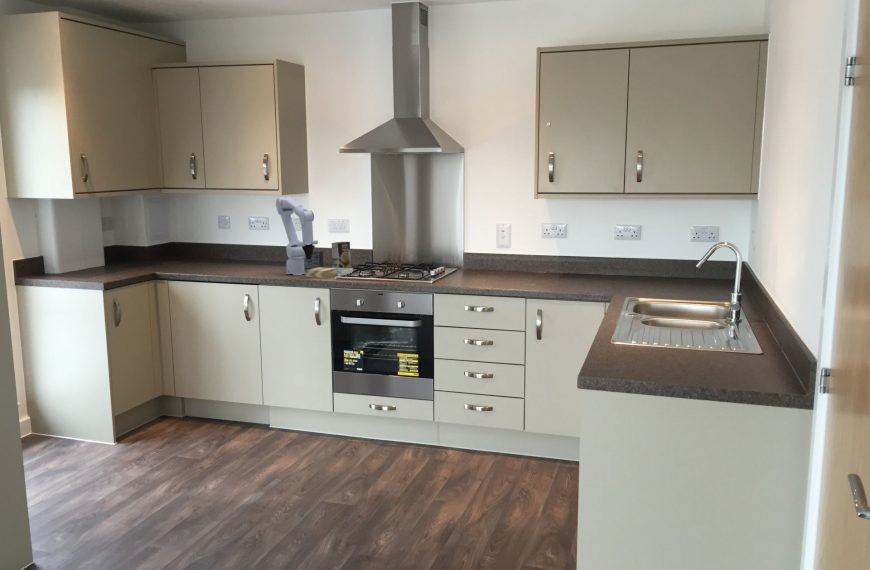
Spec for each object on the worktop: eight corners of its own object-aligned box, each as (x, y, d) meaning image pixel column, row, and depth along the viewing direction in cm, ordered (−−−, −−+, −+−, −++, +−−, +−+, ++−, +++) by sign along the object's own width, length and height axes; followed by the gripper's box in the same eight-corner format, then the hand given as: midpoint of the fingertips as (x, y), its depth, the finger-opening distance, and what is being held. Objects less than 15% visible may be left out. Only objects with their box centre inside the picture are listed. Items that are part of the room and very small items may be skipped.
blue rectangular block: (334, 269, 406) (334, 271, 407) (327, 270, 401) (327, 273, 401) (347, 269, 402) (347, 272, 402) (340, 271, 397) (340, 273, 397)
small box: (324, 267, 429) (323, 250, 427) (320, 269, 422) (319, 251, 421) (307, 267, 431) (306, 250, 429) (303, 269, 424) (302, 251, 423)
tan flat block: (306, 277, 391) (305, 270, 391) (318, 274, 401) (318, 267, 400) (325, 278, 385) (325, 271, 384) (337, 275, 395) (337, 268, 394)
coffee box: (340, 271, 410) (339, 243, 407) (332, 270, 414) (330, 242, 411) (351, 269, 417) (350, 241, 415) (343, 268, 421) (342, 241, 419)
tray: (321, 274, 400) (321, 270, 399) (333, 271, 409) (333, 267, 409) (342, 275, 393) (342, 271, 393) (353, 273, 403) (353, 268, 402)
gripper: (304, 235, 380) (306, 260, 382) (321, 232, 392) (323, 257, 395) (294, 234, 383) (295, 260, 385) (311, 232, 396) (312, 257, 398)
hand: (308, 258), depth 390 cm, fingers closed
